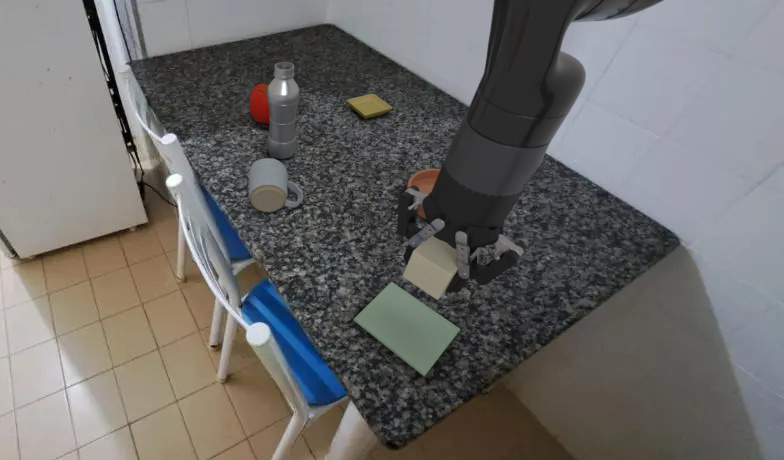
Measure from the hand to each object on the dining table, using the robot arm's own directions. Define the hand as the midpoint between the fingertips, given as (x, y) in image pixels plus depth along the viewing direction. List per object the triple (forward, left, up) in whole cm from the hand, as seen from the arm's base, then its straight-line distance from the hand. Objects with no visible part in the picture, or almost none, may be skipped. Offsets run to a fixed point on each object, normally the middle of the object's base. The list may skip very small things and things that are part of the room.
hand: (430, 275), depth 49 cm
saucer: (+41, -48, -13) cm, 64 cm away
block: (0, 0, 0) cm, 0 cm away
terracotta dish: (+10, -30, -12) cm, 34 cm away
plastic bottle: (+43, -18, -13) cm, 48 cm away
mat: (0, 0, -12) cm, 12 cm away
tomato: (+55, -26, -13) cm, 62 cm away
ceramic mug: (+33, -6, -13) cm, 36 cm away
